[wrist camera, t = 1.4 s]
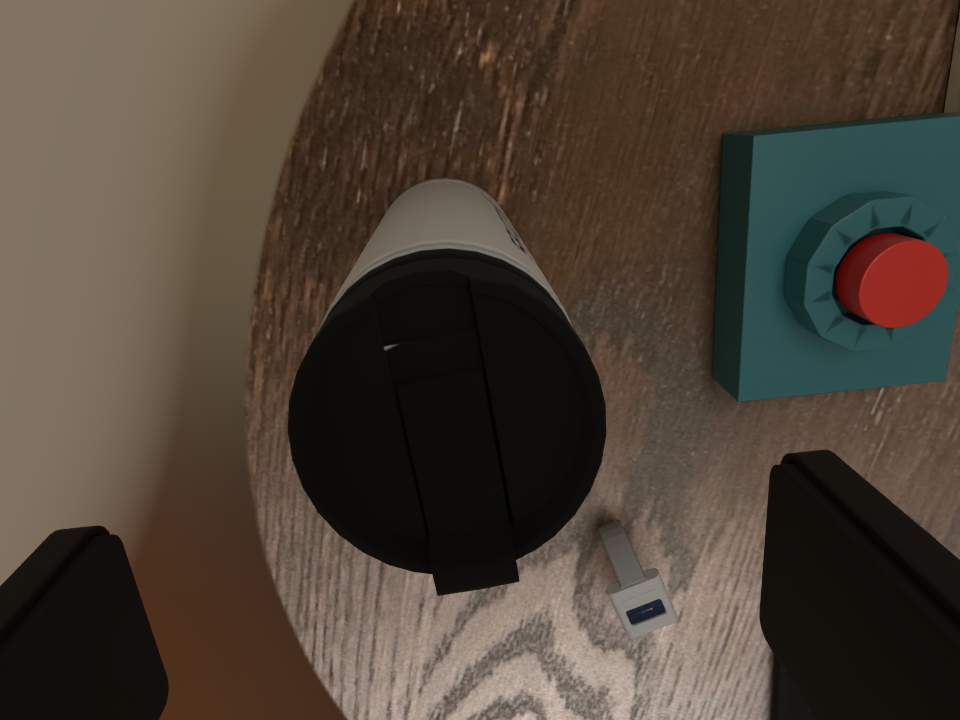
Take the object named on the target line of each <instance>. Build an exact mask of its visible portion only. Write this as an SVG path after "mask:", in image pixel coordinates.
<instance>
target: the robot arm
mask: <svg viewBox="0 0 960 720" xmlns="http://www.w3.org/2000/svg"><path fill="white" fill-rule="evenodd" d="M760 623H761V628H762V632H763V634H764V637H765V639H766V641H767V643H768V645H769V646H770V648H771V649H772V651H773V653H774V654H775V656H776V657H777V659H778V661H779V662H780V664H781V665H782V667H783V669H784V670H785V672H786V674H787V675H788V677H789V678H790V680H791V682H792V683H793V685H794V686H795V688H796V690H797V691H798V693H799V695H800V696H801V698H802V699H803V701H804V703H805V704H806V706H807V707H808V709H809V711H810V712H811V714H812V716H813V717H814V719H815V720H960V560H959V559H958V558H957V557H956V556H954V555H953V554H952V553H951V552H950V551H949V550H947V549H946V548H945V547H944V546H943V545H942V544H940V543H939V542H938V541H937V540H936V539H934V538H933V537H932V536H931V535H930V534H929V533H927V532H926V531H925V530H924V529H923V528H922V527H920V526H919V525H918V524H917V523H916V522H914V521H913V520H912V519H911V518H910V517H909V516H907V515H906V514H905V513H904V512H903V511H901V510H900V509H899V508H898V507H897V506H896V505H894V504H893V503H892V502H891V501H890V500H889V499H887V498H886V497H885V496H884V495H883V494H881V493H880V492H879V491H878V490H877V489H876V488H874V487H873V486H872V485H871V484H870V483H869V482H867V481H866V480H865V479H864V478H863V477H861V476H860V475H859V474H858V473H857V472H856V471H854V470H853V469H852V468H851V467H850V466H849V465H847V464H846V463H845V462H844V461H843V460H841V459H840V458H839V457H838V456H837V455H836V454H834V453H833V452H831V451H829V450H818V451H809V452H799V453H789V454H786V455H785V456H784V457H783V459H782V461H781V465H775V466H773V467H772V469H771V472H770V479H769V493H768V506H767V520H766V533H765V547H764V561H763V574H762V588H761V601H760ZM168 689H169V688H168V679H167V675H166V672H165V669H164V666H163V663H162V660H161V657H160V654H159V651H158V648H157V645H156V642H155V639H154V636H153V633H152V630H151V627H150V624H149V621H148V618H147V615H146V612H145V609H144V606H143V603H142V600H141V597H140V594H139V591H138V588H137V585H136V582H135V579H134V576H133V573H132V570H131V567H130V564H129V561H128V558H127V555H126V552H125V549H124V546H123V543H122V541H121V539H120V538H119V537H118V536H117V535H110V533H109V532H108V531H107V529H106V528H104V527H102V526H90V527H80V528H71V529H62V530H57V531H54V532H53V533H52V534H50V535H49V536H48V537H47V538H46V539H45V540H44V541H43V542H42V544H41V545H40V546H39V547H38V548H37V549H36V550H35V551H34V552H33V553H32V554H31V555H30V556H29V557H28V558H27V559H26V560H25V561H24V562H23V563H22V564H21V565H20V567H18V569H17V570H16V571H15V572H14V573H13V574H12V575H11V576H10V577H9V578H8V579H7V580H6V581H5V582H4V583H3V584H2V585H1V586H0V720H159V718H160V716H161V714H162V712H163V710H164V708H165V705H166V702H167V697H168Z"/></svg>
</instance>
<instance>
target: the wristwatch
mask: <svg viewBox="0 0 960 720" xmlns="http://www.w3.org/2000/svg"><path fill="white" fill-rule="evenodd" d="M598 530H599V534H600V537H601V540H602V542H603V545H604V547H605V550H606V552H607V555H608V557H609V560H610V562H611V565H612V567H613V569H614V572H615V574H616V576H617V579H618V581H619V582H616V583H614V584H611V585H609V586H608V587H607V588H606V592H607V594H608V596H609V598H610V600H611V602H612V604H613V606H614V609H615V611H616V613H617V615H618V617H619V619H620V621H621V623H622V626H623V628H624V630H625V632H626V634H627V636H628V637H629V638H636V637H638V636H641V635H644V634H646V633H649V632H651V631H654V630H657V629H659V628H662V627H664V626H667V625H670V624H672V623H675V622H676V621H677V620H678V616H677V614H676V611H675V609H674V607H673V604H672V602H671V600H670V597H669V595H668V593H667V590H666V588H665V586H664V583H663V581H662V579H661V576H660V574H659V572H658V570H657V569H655V568H652V569H649V570H647V571H644V572H643V570H642V568H641V566H640V564H639V561H638V559H637V557H636V554H635V552H634V550H633V548H632V545H631V543H630V541H629V538H628V536H627V534H626V532H625V529H624V527H623V525H622V523H621V521H620V520H616V521H613V522H611V523H608V524H606V525H603V526H601V527H599V529H598Z"/></svg>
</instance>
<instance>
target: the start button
mask: <svg viewBox="0 0 960 720" xmlns="http://www.w3.org/2000/svg"><path fill="white" fill-rule="evenodd" d="M947 281H948V266H947V262H946V259H945V258H944V256H943V254H942V253H941V251H940V250H939V249H938V248H937V247H936V246H934V245H932V244H931V243H929V242H926V241H922V240H919V239H915V238H911V237H907V236H903V235H900V234H896V233H880V234H876V235H872V236H870V237H868V238H865V239H864V240H862V241H860V242H859V243H857V244H856V245H855V246H854V247H853V248H852V249H851V250H850V251H849V252H848V253H847V254H846V255H845V257H844V258H843V260H842V262H841V263H840V266H839V268H838V271H837V275H836V283H835V285H836V292H837V296H838V298H839V300H840V302H841V304H842V305H843V306H844V307H845V308H846V309H847V310H848V311H850V312H851V313H853V314H855V315H857V316H859V317H862V318H864V319H866V320H868V321H870V322H872V323H874V324H876V325H879V326H882V327H887V328H898V327H903V326H907V325H910V324H912V323H915V322H917V321H918V320H920V319H922V318H923V317H925V316H926V315H927V314H928V313H929V312H931V310H932V309H933V308H934V307H935V306H936V305H937V304H938V302H939V301H940V299H941V298H942V296H943V294H944V291H945V289H946V286H947Z"/></svg>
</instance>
